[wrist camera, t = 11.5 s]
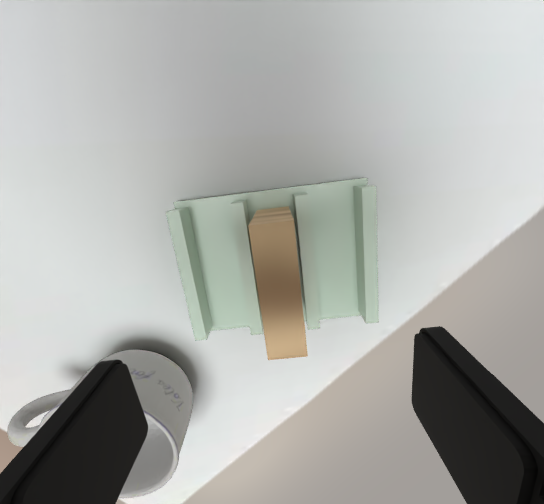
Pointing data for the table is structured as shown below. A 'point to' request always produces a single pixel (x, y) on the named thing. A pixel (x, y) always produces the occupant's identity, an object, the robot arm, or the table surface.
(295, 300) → the oak board
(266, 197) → the dish rack
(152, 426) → the teacup
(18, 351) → the table surface
